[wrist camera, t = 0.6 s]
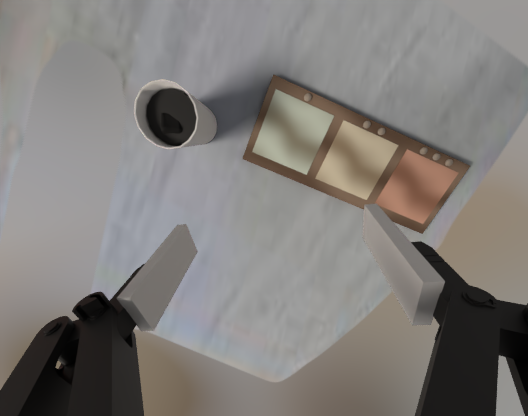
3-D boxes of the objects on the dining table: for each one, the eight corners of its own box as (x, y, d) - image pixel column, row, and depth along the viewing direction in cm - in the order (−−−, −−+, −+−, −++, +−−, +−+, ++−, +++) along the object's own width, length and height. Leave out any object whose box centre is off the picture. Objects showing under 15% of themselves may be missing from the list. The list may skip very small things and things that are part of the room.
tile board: (273, 76, 28) (273, 74, 27) (464, 165, 31) (471, 166, 30) (243, 158, 32) (242, 158, 31) (418, 231, 35) (423, 234, 34)
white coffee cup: (220, 149, 32) (199, 151, 22) (177, 146, 32) (138, 147, 22) (220, 101, 30) (196, 81, 20) (174, 99, 30) (129, 77, 20)
